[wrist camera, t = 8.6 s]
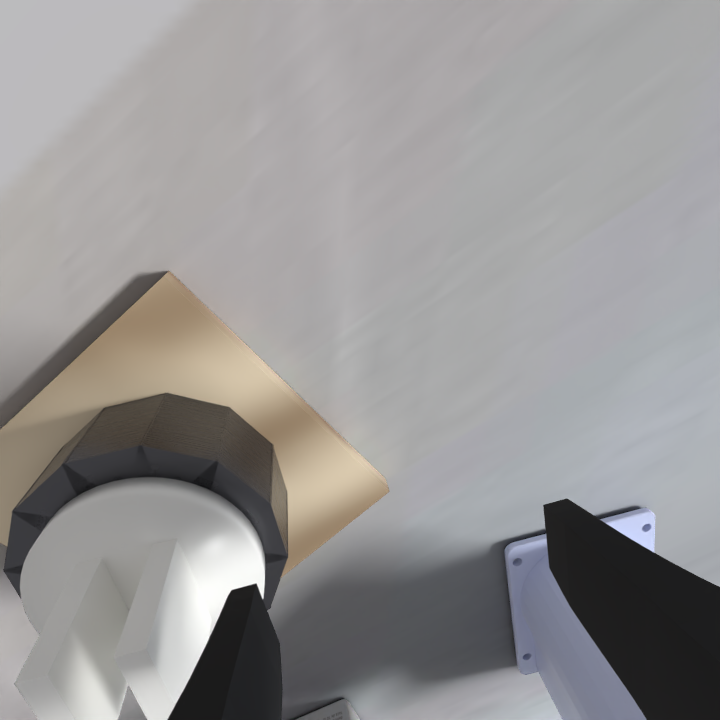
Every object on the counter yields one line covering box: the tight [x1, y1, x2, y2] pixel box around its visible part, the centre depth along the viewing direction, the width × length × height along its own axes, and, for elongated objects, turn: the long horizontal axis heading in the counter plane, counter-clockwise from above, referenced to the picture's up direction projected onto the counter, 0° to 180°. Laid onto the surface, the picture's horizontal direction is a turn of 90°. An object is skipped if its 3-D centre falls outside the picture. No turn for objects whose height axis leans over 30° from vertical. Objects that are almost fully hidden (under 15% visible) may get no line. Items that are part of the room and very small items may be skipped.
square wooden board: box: [0, 271, 389, 577], centre depth 22 cm, size 13×13×1 cm
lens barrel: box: [3, 393, 288, 610], centre depth 19 cm, size 9×9×4 cm
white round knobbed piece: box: [14, 477, 265, 720], centre depth 16 cm, size 8×8×6 cm
